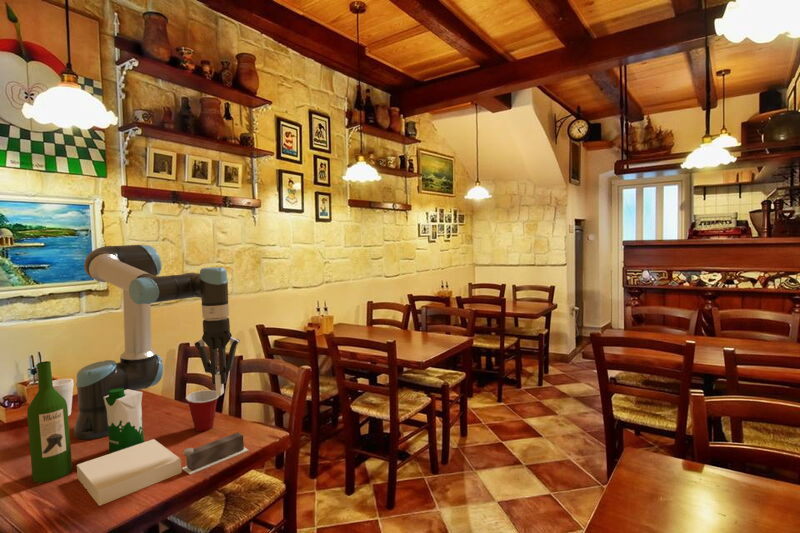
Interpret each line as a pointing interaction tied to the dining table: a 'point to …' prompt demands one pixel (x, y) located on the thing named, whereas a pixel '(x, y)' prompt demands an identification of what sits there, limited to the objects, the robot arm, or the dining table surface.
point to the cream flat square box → (127, 471)
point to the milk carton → (124, 418)
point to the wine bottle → (48, 430)
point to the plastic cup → (202, 408)
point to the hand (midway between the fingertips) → (220, 394)
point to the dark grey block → (213, 451)
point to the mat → (214, 462)
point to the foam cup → (65, 390)
